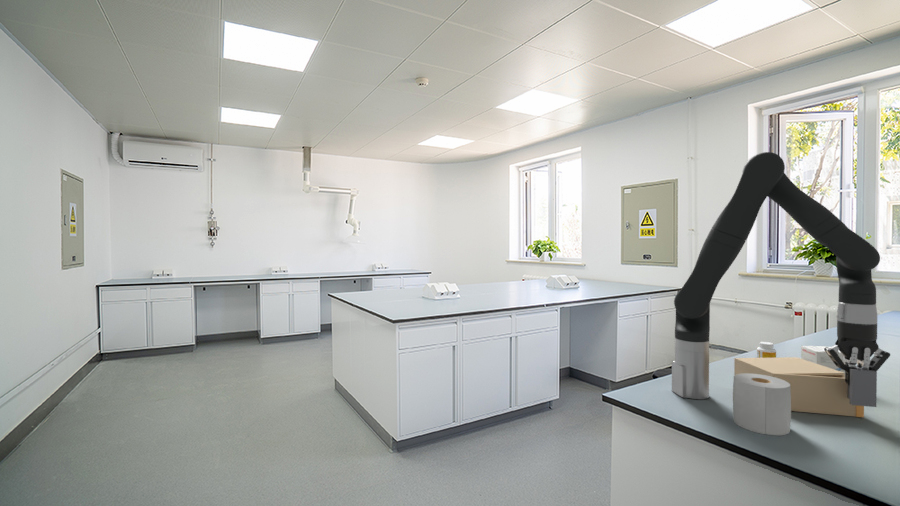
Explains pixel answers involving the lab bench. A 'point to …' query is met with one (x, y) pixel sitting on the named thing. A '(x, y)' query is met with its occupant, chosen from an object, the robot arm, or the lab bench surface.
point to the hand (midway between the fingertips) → (856, 386)
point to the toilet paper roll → (762, 404)
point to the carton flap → (833, 392)
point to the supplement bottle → (766, 350)
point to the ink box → (820, 356)
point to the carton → (783, 367)
